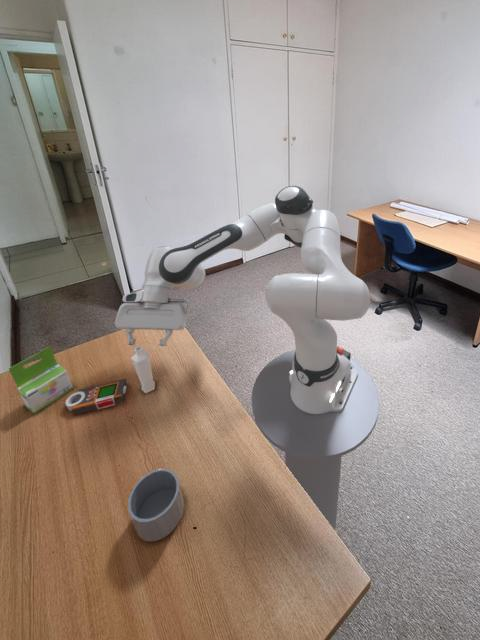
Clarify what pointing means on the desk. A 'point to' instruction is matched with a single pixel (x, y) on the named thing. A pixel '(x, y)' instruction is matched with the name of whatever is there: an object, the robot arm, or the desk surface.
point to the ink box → (41, 380)
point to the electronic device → (97, 397)
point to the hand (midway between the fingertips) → (146, 345)
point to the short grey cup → (156, 504)
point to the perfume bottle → (143, 369)
